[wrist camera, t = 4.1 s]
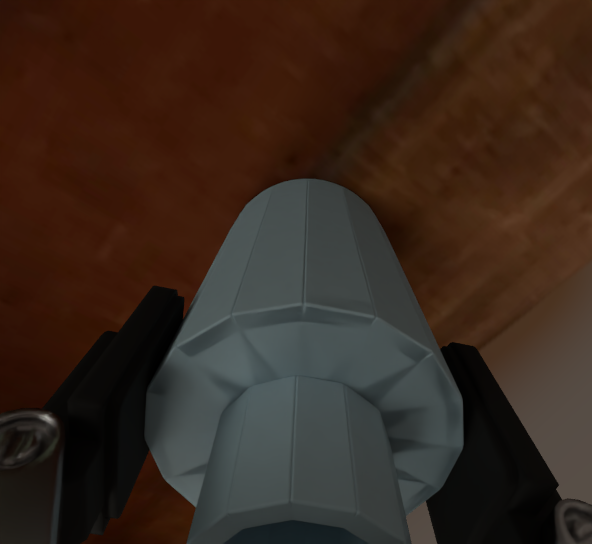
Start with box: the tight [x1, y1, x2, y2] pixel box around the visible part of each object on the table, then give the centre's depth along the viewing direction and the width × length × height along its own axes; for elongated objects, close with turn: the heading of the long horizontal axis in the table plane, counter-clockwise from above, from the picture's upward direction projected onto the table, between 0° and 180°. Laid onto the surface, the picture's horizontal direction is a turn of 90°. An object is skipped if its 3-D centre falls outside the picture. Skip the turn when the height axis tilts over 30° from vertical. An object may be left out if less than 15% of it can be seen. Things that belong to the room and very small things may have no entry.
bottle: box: [144, 179, 464, 544], centre depth 11 cm, size 6×6×12 cm
